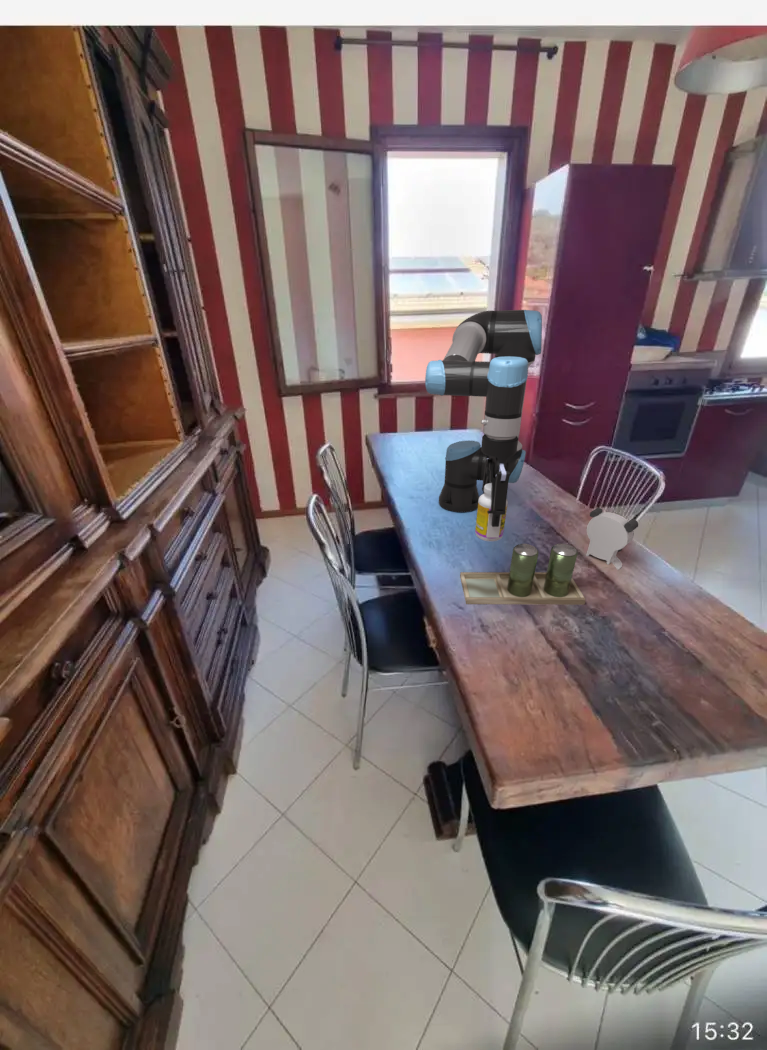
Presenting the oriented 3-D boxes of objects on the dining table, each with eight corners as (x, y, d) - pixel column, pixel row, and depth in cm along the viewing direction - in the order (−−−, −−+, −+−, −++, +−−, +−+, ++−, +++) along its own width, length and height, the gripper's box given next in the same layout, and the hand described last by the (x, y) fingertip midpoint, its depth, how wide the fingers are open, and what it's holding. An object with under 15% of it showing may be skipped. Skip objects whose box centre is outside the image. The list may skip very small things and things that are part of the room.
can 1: (504, 583, 111) (510, 543, 105) (527, 583, 111) (534, 543, 105) (510, 597, 106) (516, 555, 100) (534, 597, 106) (542, 555, 100)
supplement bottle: (482, 544, 98) (488, 494, 91) (470, 531, 103) (474, 483, 97) (508, 540, 99) (515, 490, 93) (494, 527, 105) (500, 479, 99)
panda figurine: (630, 562, 120) (645, 516, 113) (613, 578, 114) (627, 530, 107) (589, 546, 128) (600, 502, 121) (571, 560, 122) (582, 514, 115)
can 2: (540, 583, 111) (548, 543, 105) (563, 583, 111) (572, 543, 105) (547, 597, 106) (556, 556, 100) (571, 597, 105) (581, 555, 99)
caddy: (459, 579, 115) (460, 572, 113) (566, 579, 114) (568, 572, 112) (465, 607, 104) (466, 599, 103) (583, 607, 103) (585, 599, 102)
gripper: (475, 423, 98) (467, 511, 109) (491, 449, 81) (480, 550, 92) (507, 422, 98) (496, 510, 109) (531, 449, 81) (515, 550, 91)
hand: (489, 528), depth 100 cm, fingers closed on supplement bottle, 7 cm apart
